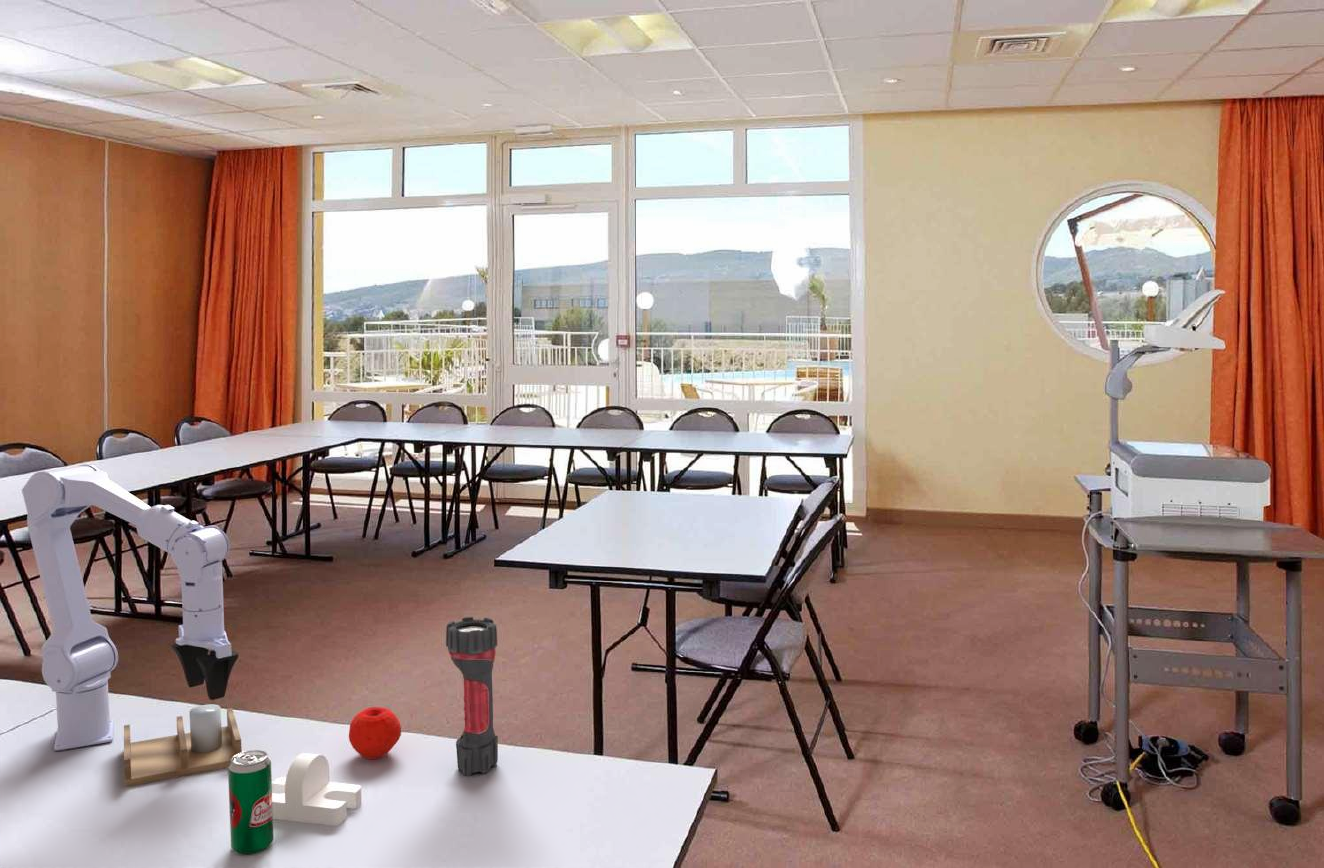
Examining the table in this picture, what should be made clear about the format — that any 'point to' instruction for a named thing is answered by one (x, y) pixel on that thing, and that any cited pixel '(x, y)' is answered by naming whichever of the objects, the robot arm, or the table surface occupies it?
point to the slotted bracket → (312, 793)
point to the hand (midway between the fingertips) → (206, 691)
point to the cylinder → (205, 728)
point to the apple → (374, 732)
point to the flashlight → (475, 691)
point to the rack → (176, 754)
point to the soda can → (250, 802)
